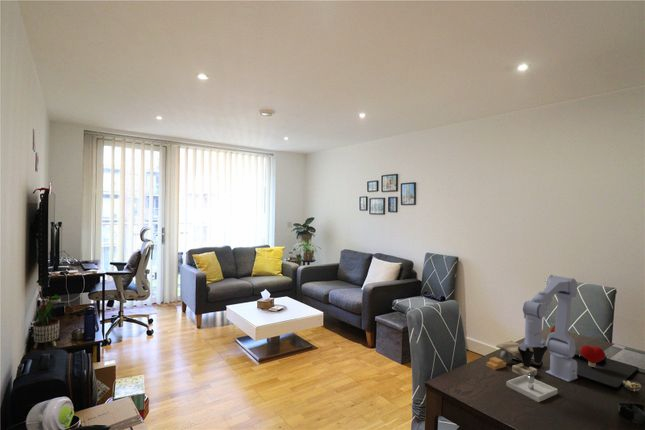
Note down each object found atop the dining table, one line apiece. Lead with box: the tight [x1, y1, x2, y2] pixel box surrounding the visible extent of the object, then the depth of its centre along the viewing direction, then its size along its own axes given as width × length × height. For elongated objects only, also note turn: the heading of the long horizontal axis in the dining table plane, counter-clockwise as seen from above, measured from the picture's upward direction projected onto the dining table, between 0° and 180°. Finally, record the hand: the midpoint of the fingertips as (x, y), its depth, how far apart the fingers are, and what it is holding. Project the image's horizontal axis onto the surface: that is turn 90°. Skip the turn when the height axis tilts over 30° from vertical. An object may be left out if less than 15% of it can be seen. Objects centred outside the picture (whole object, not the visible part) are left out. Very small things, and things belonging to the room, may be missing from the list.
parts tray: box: [505, 375, 559, 403], centre depth 138 cm, size 13×13×2 cm
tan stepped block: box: [485, 356, 507, 371], centre depth 159 cm, size 8×4×4 cm, turn 117°
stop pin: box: [528, 373, 535, 390], centre depth 138 cm, size 2×2×6 cm
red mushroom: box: [580, 344, 606, 368], centre depth 160 cm, size 9×7×10 cm
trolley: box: [496, 340, 522, 365], centre depth 164 cm, size 9×14×7 cm, turn 118°
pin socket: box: [511, 362, 538, 377], centre depth 153 cm, size 7×7×2 cm
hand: (532, 364), depth 138 cm, fingers open, 7 cm apart
